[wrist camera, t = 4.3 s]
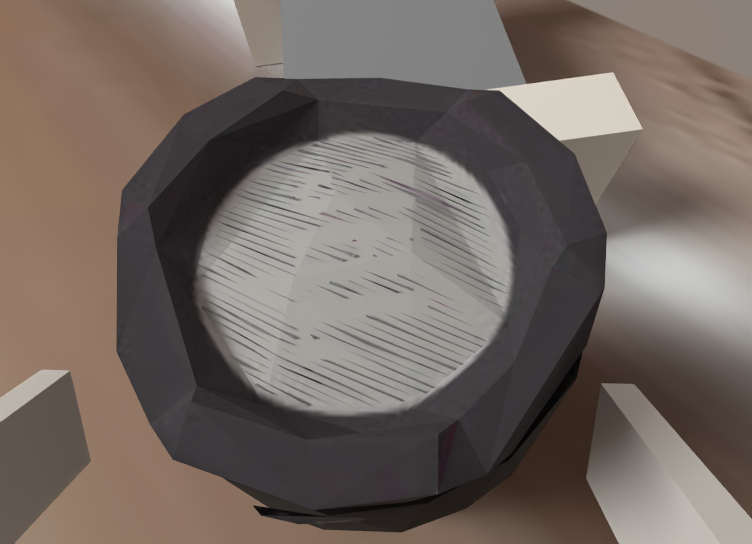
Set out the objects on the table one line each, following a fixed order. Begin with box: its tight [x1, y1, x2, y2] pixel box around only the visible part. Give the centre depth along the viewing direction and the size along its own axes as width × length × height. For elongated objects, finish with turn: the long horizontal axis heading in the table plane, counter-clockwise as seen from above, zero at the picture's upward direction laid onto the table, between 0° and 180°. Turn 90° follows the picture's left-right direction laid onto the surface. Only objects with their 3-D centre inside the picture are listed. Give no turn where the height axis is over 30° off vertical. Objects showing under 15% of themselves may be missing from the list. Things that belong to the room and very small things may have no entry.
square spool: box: [234, 0, 643, 205], centre depth 29 cm, size 22×19×10 cm
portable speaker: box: [117, 77, 607, 532], centre depth 16 cm, size 9×9×20 cm
